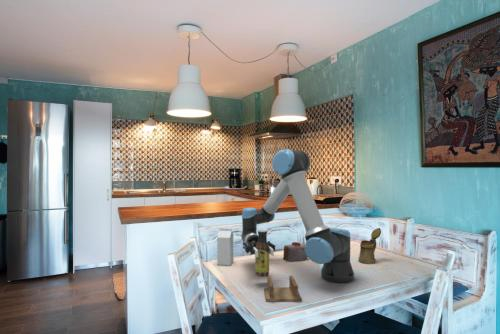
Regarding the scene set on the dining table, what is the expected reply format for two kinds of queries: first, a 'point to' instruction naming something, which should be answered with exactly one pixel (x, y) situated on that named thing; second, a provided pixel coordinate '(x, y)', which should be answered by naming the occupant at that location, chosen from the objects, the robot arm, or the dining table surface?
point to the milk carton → (225, 247)
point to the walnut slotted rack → (282, 292)
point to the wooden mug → (369, 248)
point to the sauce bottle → (262, 255)
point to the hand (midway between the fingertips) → (265, 253)
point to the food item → (294, 252)
